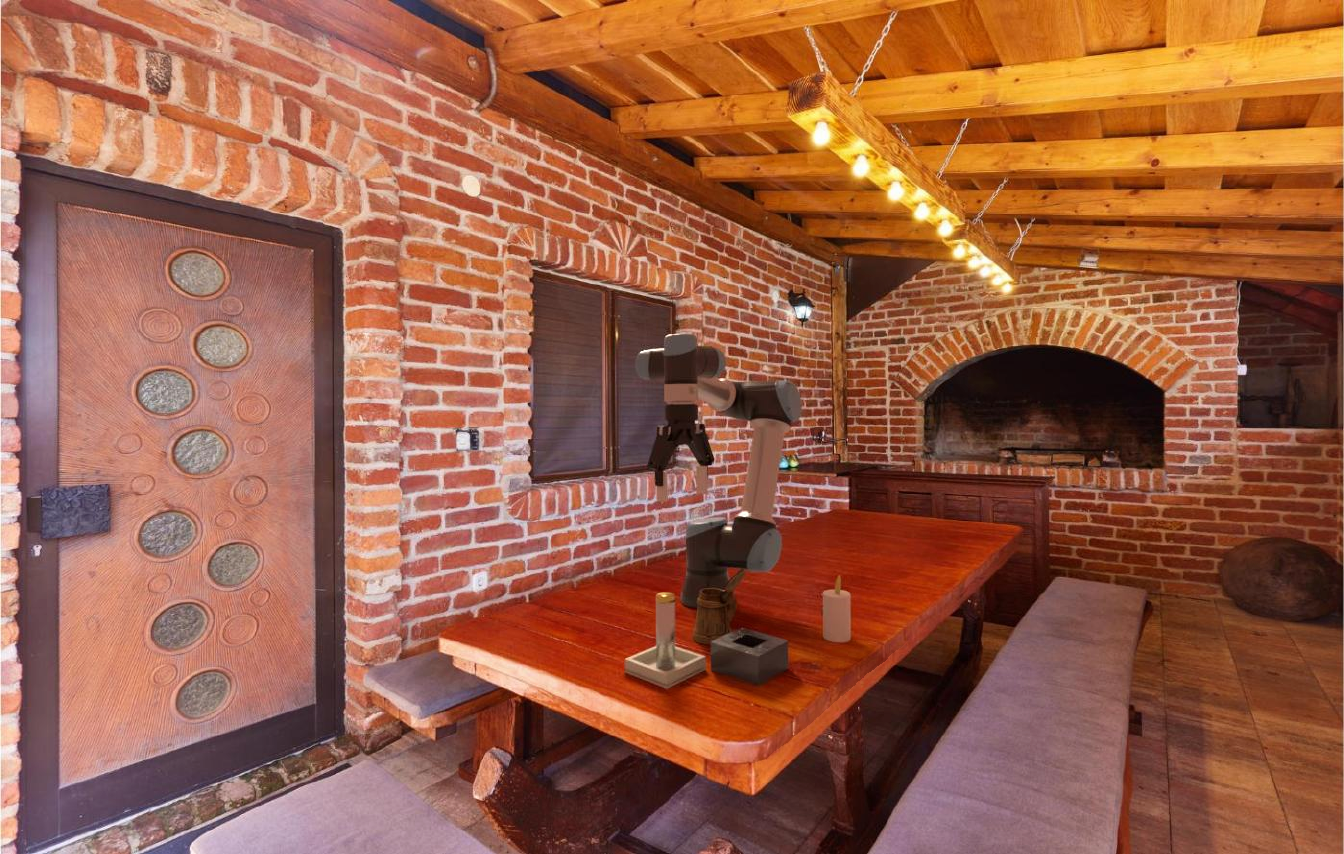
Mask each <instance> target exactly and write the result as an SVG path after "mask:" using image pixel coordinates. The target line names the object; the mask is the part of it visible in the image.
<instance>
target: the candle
mask: <svg viewBox="0 0 1344 854" xmlns="http://www.w3.org/2000/svg"><path fill="white" fill-rule="evenodd" d="M841 580H842V578H841V575H840V574H839V575H838V576H837V578H836V579H835V585H834V589H827V590H824V591H823V592H822V605H821V608H822V609H821V616H822V634H823V635H822V637H823V639H824V640H826V641H829V642H833V643H847V642H849V641H850V640H851V638H852V636H851V633H852V631H851V627H852V626H851V615H852V613H851V593H850V592H848V591H846V590H844V589H843V590H842V589H841V582H842V581H841Z"/></svg>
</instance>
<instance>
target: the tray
mask: <svg viewBox="0 0 1344 854" xmlns="http://www.w3.org/2000/svg"><path fill="white" fill-rule="evenodd" d="M706 658H707V657H706V656H705V655H703V654H700V653H696V652H694V651H690V650H688V649H684V648H682V647H679V646H676V645H675V668H674V669H672V670H669V671H663V670H660V669H657V668H656V645H655V646H653V647H649V648H648V649H645V650H643V651H640V652H638V653H636V654H633V655H631V656H629V657H626V658H624V672H625V674H629V675H631V676H634V677H636V678H639V679H640V680H641V679H642V680H643V681H645V682H649V683H650V684H653V685H656V686H659V687H661V688H664V689H665V690H668V689H670V688H672V687H674V686H676V685H677V684H680V683H682V682H683V681H684V682H685V681H686V680H688V679H690V678H692V677H694V676H697V675H698V674H700V673H701V672H704V671H705V670H707V668H706V665H707V664H706V663H707V662H706V661H707V660H706Z"/></svg>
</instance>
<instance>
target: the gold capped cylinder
mask: <svg viewBox="0 0 1344 854" xmlns="http://www.w3.org/2000/svg"><path fill="white" fill-rule="evenodd" d="M655 646H656V668H657V669H660V670H663V671H669V670H672V669H674V668H675V646H676V594H675V593H672V592H664V591H663V592H659V593H657V594H655Z"/></svg>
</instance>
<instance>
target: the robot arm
mask: <svg viewBox="0 0 1344 854" xmlns="http://www.w3.org/2000/svg"><path fill="white" fill-rule="evenodd" d="M726 366H727V357H726V355H725V354H724V352H723V351H722V350H721V349H719V348H717V347H714V346H712V345H709V346H708V345H699V344H698V338H697V336H696V335H695V334H693V333H673V334H672V333H671V334H668V335H666V336H665V337H664V339H663V348H651V349H646V350H643V351H640V352H639V353H638V355H637V356H636V358H635V371H636V374H637V376H638V377H639V378H640V379H642V380H645V381H655V380H656V381H660V382H662V383H664V390H663V391H664V402H665V403H666V404H665V406H664V420H665V421H667V425H658V426H657V427H656V436H655V440H654V443H653V445H652V446H653V447H652V449H651V452H650V455H649V458H648V461H647V465H646V468H647V469H649V470H650V471H651V472H654V486H655V487H656V489H655V490H656V493H655V494H656V501H658V502H665V503H667V502H669V495H668V494H669V492H668V490H669V489H668V488H669V487H668V481H669V479H668V477H669V476H668V471H665V470H666V468H667V466H668V464H669V463H670V460H671V458H672V456H673V455H674V452H675V451H676V449H677V448H678V447H679V446H683V445H686V446H687V447H688V448H689V449H690V452H691V454H692V455H693V456H694V458H695V460H696V462H697V463H698V465H695V473H696V494H700V495H708V489H709V488H708V479H709V466H712V465H713V463H714V462H715V457H714V454H713V453H714V452H713V451H712V447H711V445H710V441H709V439H708V436H707V431H706V424H705V423H696V421H698V419H699V405H698V404H696V402H698V401H699V400H700V401H701V402H704V403H707V405H708V407H709V408H710V409H711V410H713V411H715V412H716V413H717V412H718V413H719V414H722V415H724V416H726V417H728V418H733V419H735V420H739V421H744V422H749V425H750V426H751V428H752V429H753V435H752V440H751V448H750V453H749V457H748V465H747V470H746V471H747V472H746V476H745V478H746V479H745V483H744V489H743V495H742V501H741V507H740V511H739V512H738V514H736V515H735V516H734V517H733V522H732V524H729V521H728V519H727V518H726V517H723V516H722V517H720V516H718V517H706V518H701V519H695V520H692V521H690V522H688V523H687V524H686V527H685V537H684V538H685V555H686V556H685V558H686V561H685V562H686V575H685V576H684V577H685V578H684V581H683V585H682V588H681V591H680V602H681V604H683V605H684V606H687V607H690V608H695V609H697V608H698V604H697V599H698V597H699V592H700V590H702V589H706V588H717V589H721V590H725V585H726V584H727V582H728V581H729V580H730V579H731V578H730V577H729V571H728V569H735V570H742V569H744V571H748V572H750V573H768V572H770V571H771V570H772V569H773V568H774V567H775V566H776V564H778V561H779V559H780V556H781V551H782V547H783V541H782V538H783V537H782V534H781V532H780V531H779V530H778V529H777V523H776V522H775V520H774V519H773V512H774V506H775V505H774V504H775V500H776V499H775V498H776V492H777V487H778V486H777V485H778V480H779V479H778V478H779V473H780V466H781V465H780V464H781V459H782V451H783V445H784V439H785V435H786V434H788V433H789V432H790V431H791V429H792V423H796V422H798V421H799V420H800V418H801V415H802V408H803V407H802V399H801V395H800V392H799V389H798V387H797V385H796V384H795V383H794V382H792V381H791V380H781V379H776V380H756V381H755V380H754V381H749V380H748V381H732V380H729V379H727V378H718V377H720V376H721V375H722V374H723V372H725V370H726ZM733 593H734V594H735V590H733ZM726 606H727V607H729V603H727V605H726Z"/></svg>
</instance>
